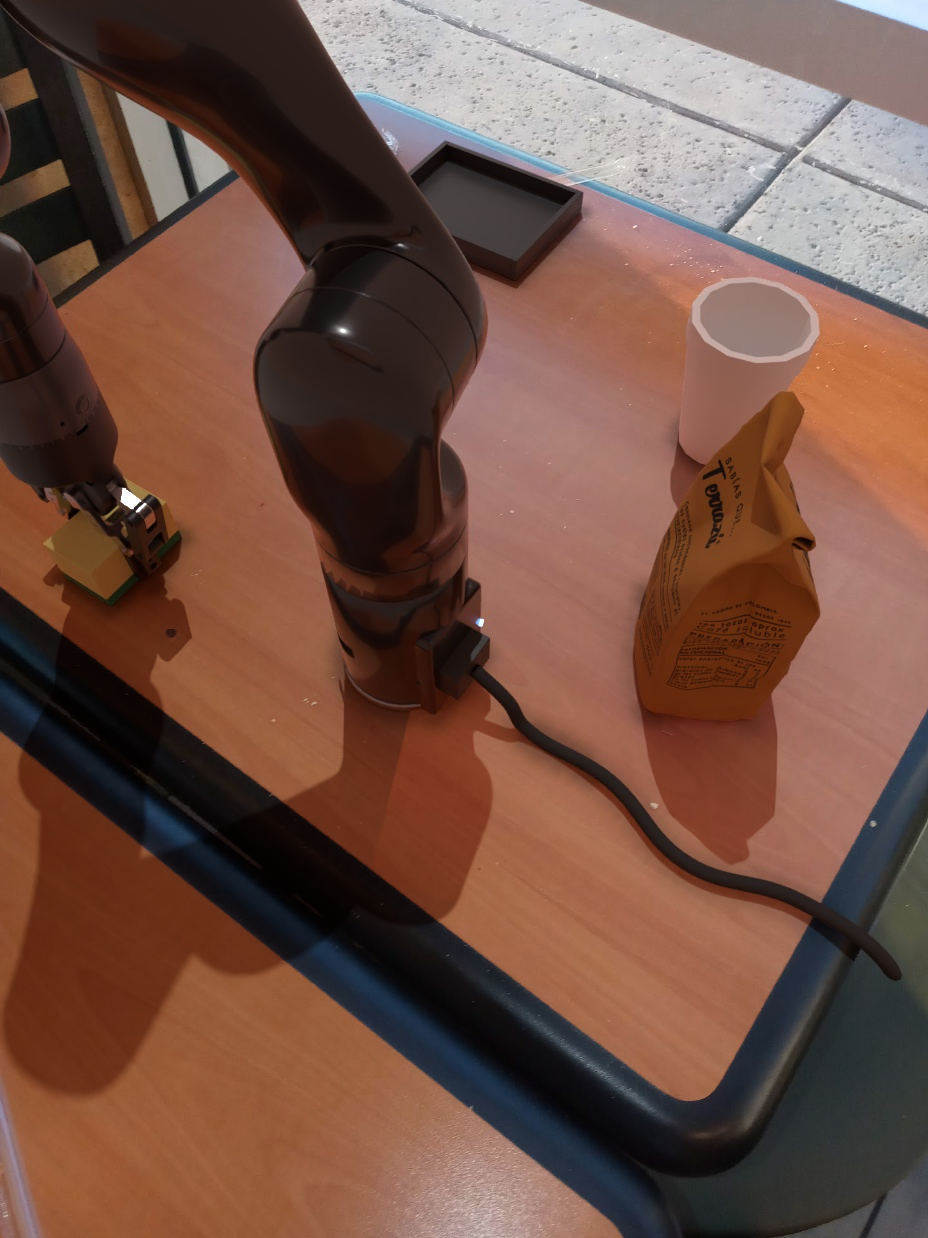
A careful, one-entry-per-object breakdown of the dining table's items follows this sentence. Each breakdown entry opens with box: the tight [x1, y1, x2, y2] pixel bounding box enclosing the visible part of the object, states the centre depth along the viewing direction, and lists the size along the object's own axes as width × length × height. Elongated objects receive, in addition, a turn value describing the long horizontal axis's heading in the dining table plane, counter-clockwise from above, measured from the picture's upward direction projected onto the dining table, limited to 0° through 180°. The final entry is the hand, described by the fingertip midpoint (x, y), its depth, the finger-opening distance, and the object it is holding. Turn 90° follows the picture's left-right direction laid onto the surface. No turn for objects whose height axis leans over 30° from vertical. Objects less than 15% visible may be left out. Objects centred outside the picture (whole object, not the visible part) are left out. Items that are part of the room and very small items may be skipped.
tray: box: [407, 140, 585, 282], centre depth 94 cm, size 17×13×2 cm
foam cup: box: [678, 276, 821, 466], centre depth 73 cm, size 10×9×13 cm
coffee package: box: [633, 390, 821, 722], centre depth 58 cm, size 10×12×22 cm
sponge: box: [42, 476, 183, 607], centre depth 70 cm, size 8×5×4 cm, turn 147°
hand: (123, 554), depth 72 cm, fingers closed on sponge, 5 cm apart
